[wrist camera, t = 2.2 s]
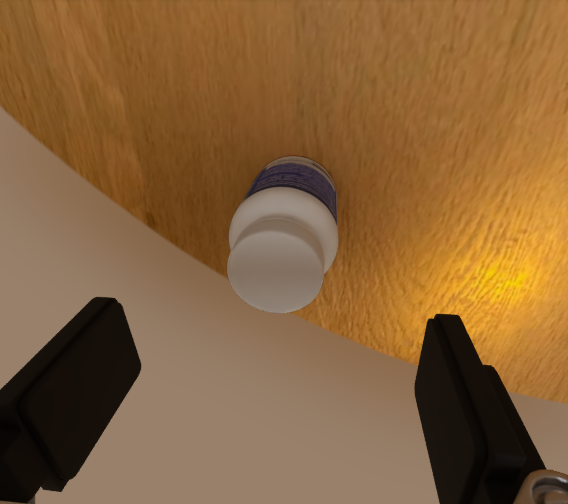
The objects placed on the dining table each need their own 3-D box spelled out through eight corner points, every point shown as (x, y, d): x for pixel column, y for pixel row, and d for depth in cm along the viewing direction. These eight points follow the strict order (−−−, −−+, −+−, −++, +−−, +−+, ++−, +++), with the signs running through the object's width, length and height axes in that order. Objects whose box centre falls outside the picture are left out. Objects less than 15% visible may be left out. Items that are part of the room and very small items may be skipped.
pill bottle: (246, 158, 21) (196, 218, 13) (334, 150, 20) (337, 208, 12) (259, 238, 23) (224, 326, 16) (338, 233, 23) (343, 325, 15)
